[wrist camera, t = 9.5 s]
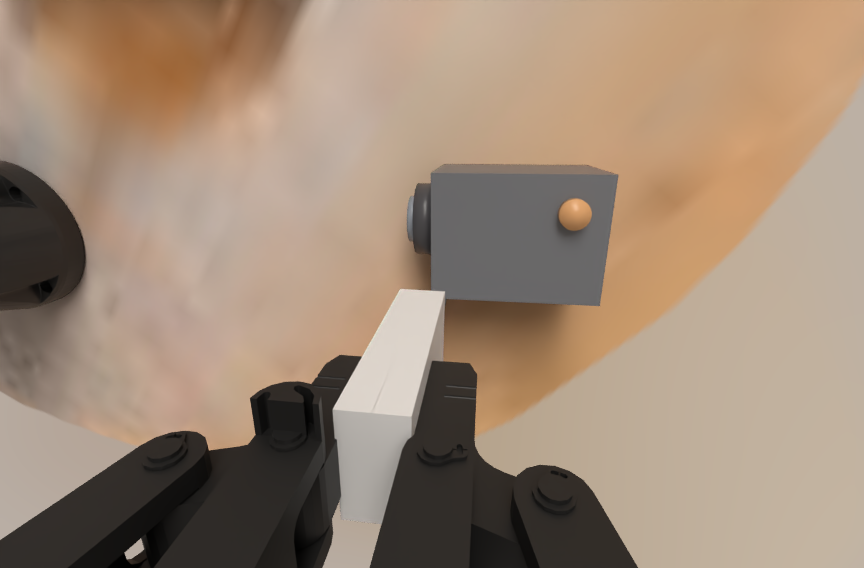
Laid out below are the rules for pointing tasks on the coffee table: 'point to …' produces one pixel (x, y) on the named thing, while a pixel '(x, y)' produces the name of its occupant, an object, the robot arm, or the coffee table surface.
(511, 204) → the camera body
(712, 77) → the coffee table surface
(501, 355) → the coffee table surface
